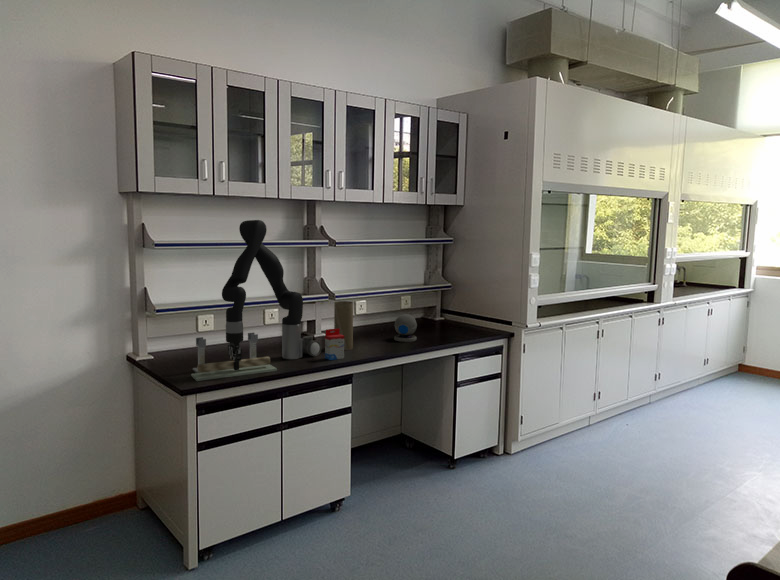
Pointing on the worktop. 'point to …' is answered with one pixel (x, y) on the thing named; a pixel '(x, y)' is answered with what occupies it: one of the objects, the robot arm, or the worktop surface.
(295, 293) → the robot arm
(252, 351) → the hook stand
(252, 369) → the mat
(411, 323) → the webcam
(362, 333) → the worktop surface
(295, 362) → the worktop surface
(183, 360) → the worktop surface
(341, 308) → the tube
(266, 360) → the rail
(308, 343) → the pipe fitting
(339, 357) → the ink box
